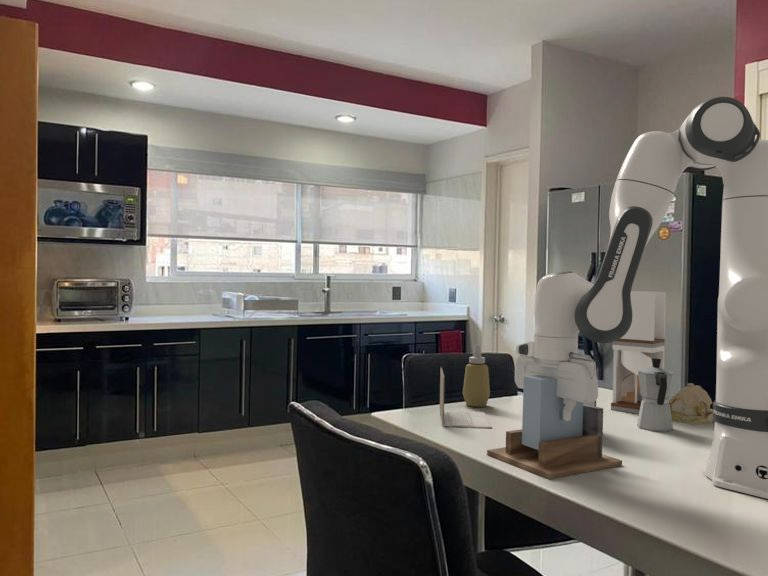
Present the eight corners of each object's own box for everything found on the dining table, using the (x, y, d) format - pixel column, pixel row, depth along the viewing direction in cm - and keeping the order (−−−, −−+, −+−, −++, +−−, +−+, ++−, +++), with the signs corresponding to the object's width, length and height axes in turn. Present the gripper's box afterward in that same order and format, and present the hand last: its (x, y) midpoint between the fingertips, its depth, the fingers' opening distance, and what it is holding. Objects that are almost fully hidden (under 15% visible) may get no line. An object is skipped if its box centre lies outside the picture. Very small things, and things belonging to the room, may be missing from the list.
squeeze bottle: (462, 402, 186) (463, 343, 186) (489, 403, 185) (490, 344, 185) (462, 407, 178) (463, 345, 178) (490, 408, 177) (491, 346, 177)
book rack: (621, 465, 123) (623, 410, 123) (549, 479, 113) (550, 420, 113) (556, 444, 139) (557, 395, 139) (487, 454, 129) (488, 402, 129)
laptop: (492, 430, 153) (493, 378, 153) (441, 428, 153) (442, 376, 153) (484, 414, 171) (485, 368, 171) (439, 413, 171) (440, 367, 171)
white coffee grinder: (610, 409, 180) (613, 290, 179) (623, 404, 188) (626, 291, 187) (651, 415, 172) (654, 291, 172) (663, 410, 180) (665, 291, 180)
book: (582, 443, 127) (584, 376, 127) (539, 450, 121) (541, 379, 121) (563, 438, 131) (566, 373, 131) (521, 444, 125) (523, 376, 125)
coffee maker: (631, 421, 164) (633, 354, 164) (666, 423, 163) (668, 356, 162) (643, 434, 150) (645, 361, 150) (682, 437, 148) (684, 363, 148)
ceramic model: (689, 425, 162) (690, 387, 162) (655, 416, 172) (656, 381, 172) (726, 421, 167) (727, 385, 167) (691, 413, 177) (692, 379, 177)
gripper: (606, 355, 118) (604, 426, 119) (532, 344, 136) (530, 406, 136) (583, 356, 115) (581, 429, 115) (510, 345, 133) (508, 408, 133)
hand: (553, 416), depth 126 cm, fingers closed on book, 5 cm apart
